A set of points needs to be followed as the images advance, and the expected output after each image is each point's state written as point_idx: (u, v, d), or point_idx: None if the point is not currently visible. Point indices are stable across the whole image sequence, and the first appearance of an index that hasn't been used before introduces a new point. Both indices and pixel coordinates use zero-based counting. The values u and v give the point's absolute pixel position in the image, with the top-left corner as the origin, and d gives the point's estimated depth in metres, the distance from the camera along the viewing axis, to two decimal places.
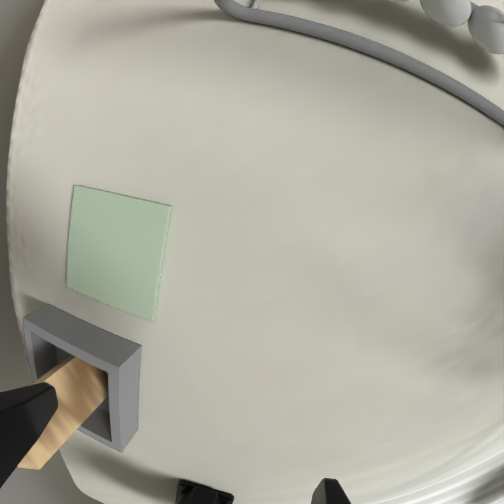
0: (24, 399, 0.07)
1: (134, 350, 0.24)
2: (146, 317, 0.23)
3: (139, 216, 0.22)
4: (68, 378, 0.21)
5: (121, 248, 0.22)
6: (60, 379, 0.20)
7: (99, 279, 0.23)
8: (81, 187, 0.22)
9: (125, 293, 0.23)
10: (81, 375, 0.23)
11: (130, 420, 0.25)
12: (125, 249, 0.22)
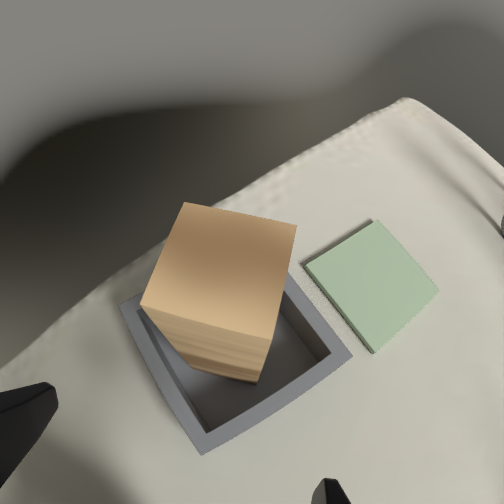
0: (24, 399, 0.07)
1: None
2: (373, 346, 0.22)
3: (418, 279, 0.25)
4: None
5: (391, 285, 0.24)
6: None
7: (352, 287, 0.24)
8: (382, 225, 0.28)
9: (369, 315, 0.23)
10: None
11: None
12: (394, 288, 0.24)
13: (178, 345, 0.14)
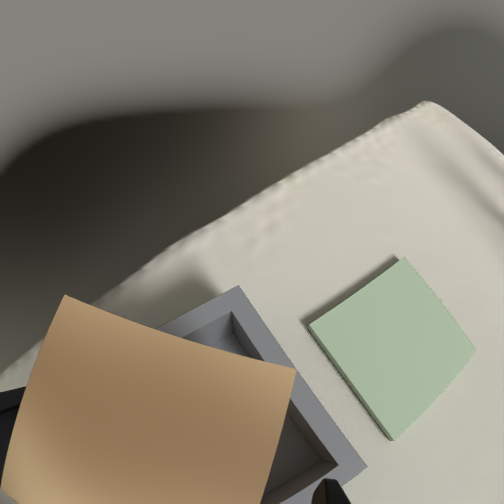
0: None
1: None
2: (392, 432, 0.14)
3: (452, 337, 0.18)
4: None
5: (419, 349, 0.17)
6: None
7: (370, 355, 0.17)
8: (410, 265, 0.20)
9: (389, 392, 0.16)
10: None
11: None
12: (423, 352, 0.17)
13: None
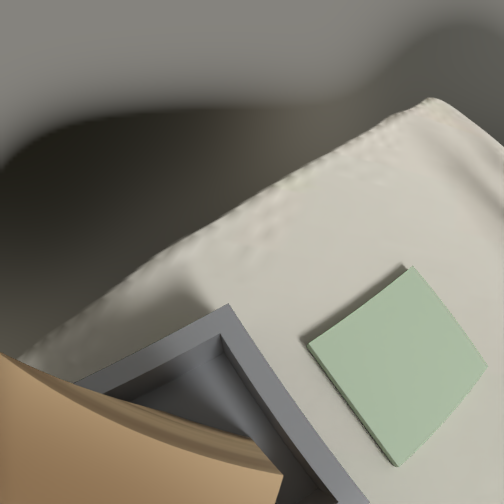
0: None
1: None
2: (396, 459, 0.12)
3: (463, 353, 0.16)
4: None
5: (428, 368, 0.15)
6: None
7: (375, 377, 0.15)
8: (419, 275, 0.19)
9: (396, 416, 0.14)
10: None
11: None
12: (432, 371, 0.15)
13: None
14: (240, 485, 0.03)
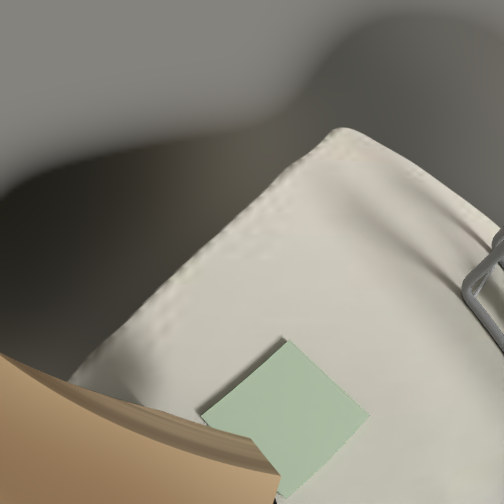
0: None
1: None
2: (283, 493, 0.17)
3: (340, 408, 0.21)
4: None
5: (304, 425, 0.20)
6: None
7: (255, 436, 0.20)
8: (295, 347, 0.23)
9: (277, 463, 0.18)
10: None
11: None
12: (308, 427, 0.20)
13: None
14: (238, 486, 0.03)
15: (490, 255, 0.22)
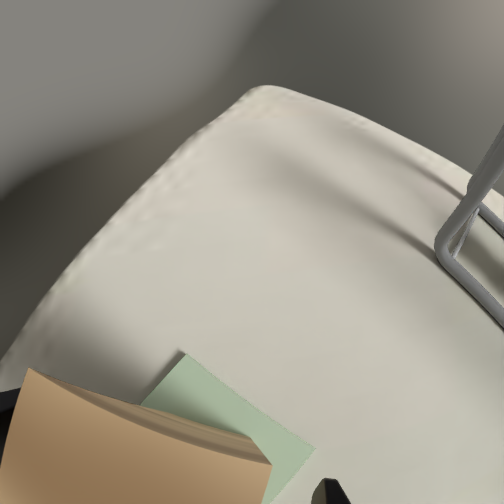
0: None
1: None
2: None
3: (270, 443, 0.14)
4: None
5: None
6: None
7: None
8: (196, 363, 0.17)
9: None
10: None
11: None
12: None
13: None
14: (239, 473, 0.04)
15: (466, 196, 0.16)
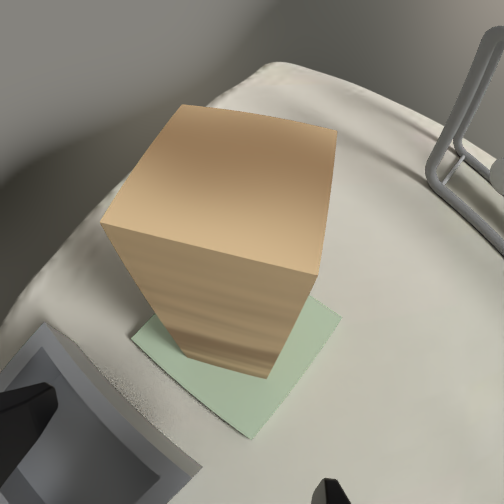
0: (24, 399, 0.07)
1: (197, 467, 0.13)
2: (245, 432, 0.15)
3: (302, 311, 0.18)
4: None
5: None
6: None
7: None
8: None
9: (230, 390, 0.16)
10: None
11: None
12: None
13: (164, 314, 0.10)
14: (320, 132, 0.08)
15: (445, 126, 0.21)
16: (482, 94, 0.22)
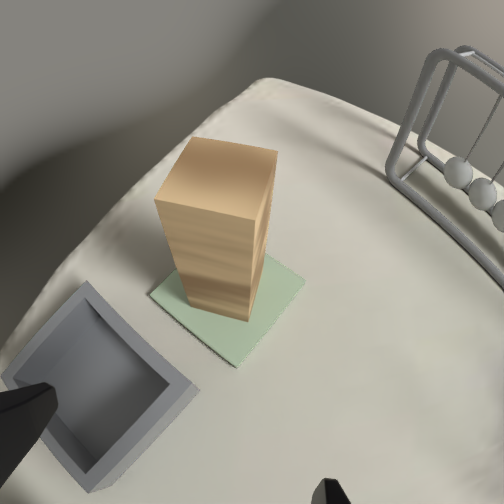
0: (24, 399, 0.07)
1: (196, 387, 0.20)
2: (232, 361, 0.22)
3: (275, 275, 0.26)
4: (262, 254, 0.22)
5: None
6: (265, 242, 0.21)
7: None
8: None
9: (222, 330, 0.23)
10: (259, 270, 0.23)
11: (125, 464, 0.16)
12: None
13: (180, 259, 0.18)
14: (268, 152, 0.15)
15: (398, 132, 0.28)
16: (440, 103, 0.29)
